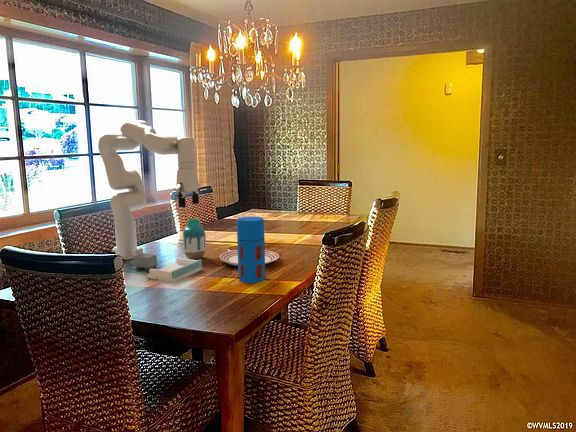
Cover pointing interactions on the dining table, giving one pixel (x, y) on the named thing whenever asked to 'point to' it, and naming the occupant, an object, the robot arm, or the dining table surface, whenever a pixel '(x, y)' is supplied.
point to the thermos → (251, 249)
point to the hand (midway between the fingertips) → (189, 205)
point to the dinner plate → (232, 257)
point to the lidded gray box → (144, 260)
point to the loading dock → (176, 270)
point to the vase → (194, 239)
